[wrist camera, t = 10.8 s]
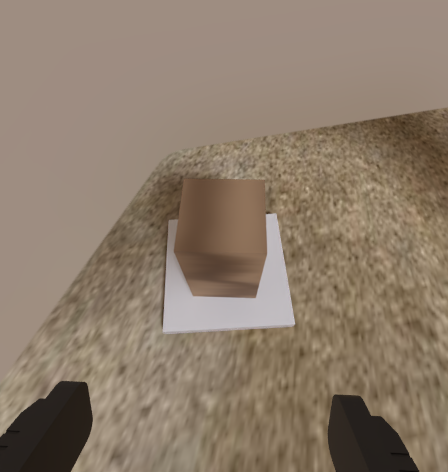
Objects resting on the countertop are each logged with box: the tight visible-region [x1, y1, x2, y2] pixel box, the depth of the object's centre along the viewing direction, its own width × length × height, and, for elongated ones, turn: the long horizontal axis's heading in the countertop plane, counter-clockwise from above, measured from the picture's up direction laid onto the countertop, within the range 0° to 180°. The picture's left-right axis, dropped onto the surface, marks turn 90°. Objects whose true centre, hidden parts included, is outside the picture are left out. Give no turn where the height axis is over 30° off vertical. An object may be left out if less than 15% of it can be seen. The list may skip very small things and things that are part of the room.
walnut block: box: [174, 179, 267, 298], centre depth 24 cm, size 6×6×10 cm
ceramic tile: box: [163, 214, 295, 334], centre depth 28 cm, size 12×12×1 cm
